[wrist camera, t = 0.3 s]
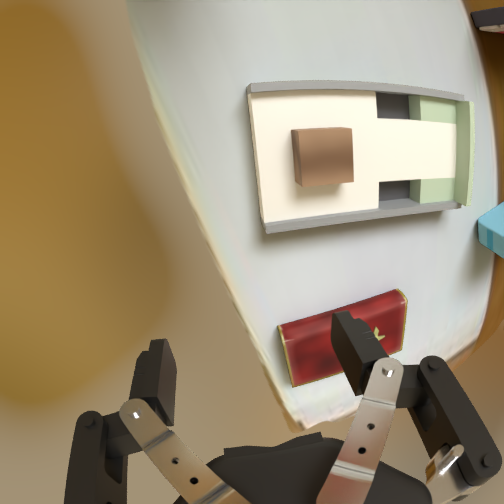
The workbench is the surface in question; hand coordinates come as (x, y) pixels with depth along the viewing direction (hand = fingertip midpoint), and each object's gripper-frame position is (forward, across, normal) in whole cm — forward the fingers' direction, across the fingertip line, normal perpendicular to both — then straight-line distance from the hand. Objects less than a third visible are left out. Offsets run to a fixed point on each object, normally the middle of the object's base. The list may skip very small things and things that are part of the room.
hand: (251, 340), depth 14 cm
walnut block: (+22, -11, -5) cm, 25 cm away
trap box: (+26, -19, -5) cm, 32 cm away
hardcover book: (+26, -16, +26) cm, 40 cm away
